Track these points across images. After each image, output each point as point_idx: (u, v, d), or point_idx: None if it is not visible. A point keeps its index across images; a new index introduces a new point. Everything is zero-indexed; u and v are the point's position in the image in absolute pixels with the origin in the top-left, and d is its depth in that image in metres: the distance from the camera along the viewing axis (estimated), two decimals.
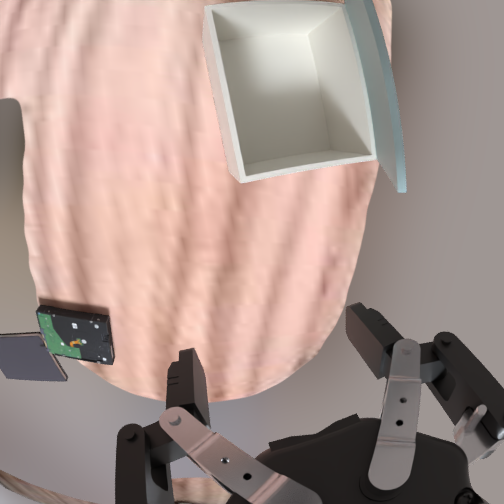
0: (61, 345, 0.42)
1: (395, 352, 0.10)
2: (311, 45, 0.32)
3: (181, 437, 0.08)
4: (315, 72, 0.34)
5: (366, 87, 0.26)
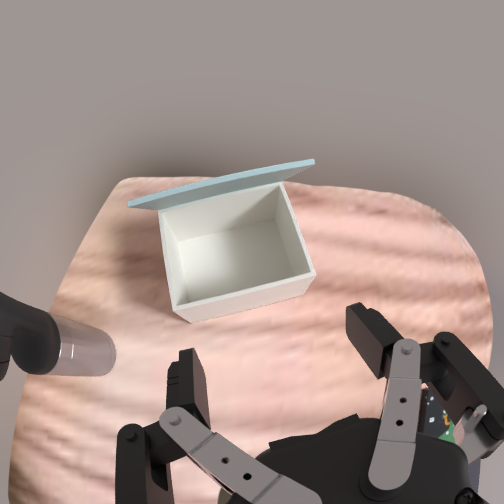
0: (448, 433, 0.36)
1: (395, 352, 0.10)
2: (188, 238, 0.52)
3: (181, 437, 0.08)
4: (212, 234, 0.53)
5: (228, 192, 0.43)
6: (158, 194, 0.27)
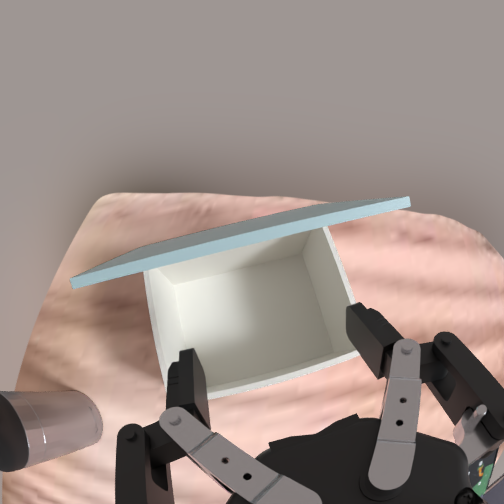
0: (480, 484, 0.22)
1: (395, 352, 0.10)
2: (187, 281, 0.39)
3: (181, 437, 0.08)
4: (218, 275, 0.40)
5: None
6: (124, 268, 0.13)
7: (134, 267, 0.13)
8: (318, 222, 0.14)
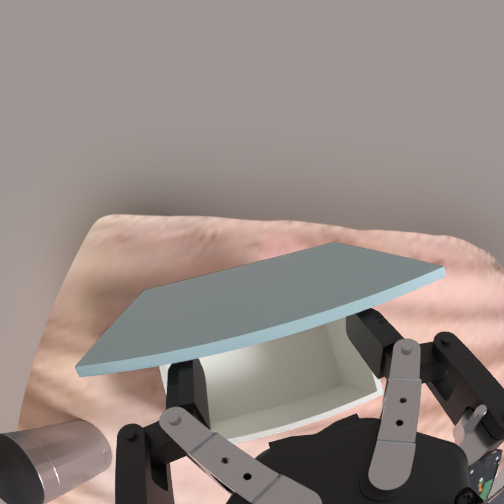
0: None
1: (395, 352, 0.10)
2: None
3: (181, 437, 0.08)
4: None
5: None
6: (135, 362, 0.11)
7: (146, 362, 0.11)
8: (351, 308, 0.12)
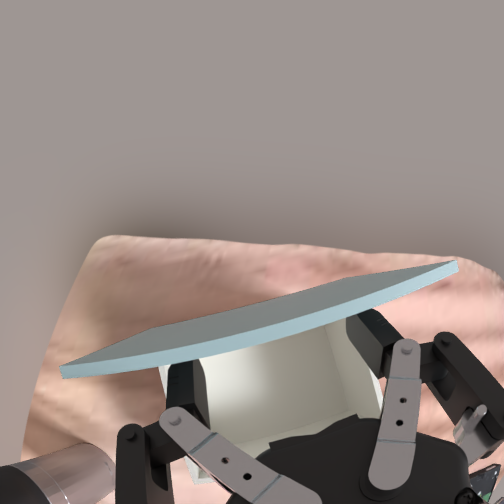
0: None
1: (395, 352, 0.10)
2: None
3: (181, 437, 0.08)
4: None
5: None
6: (121, 363, 0.10)
7: (134, 363, 0.10)
8: (360, 305, 0.11)
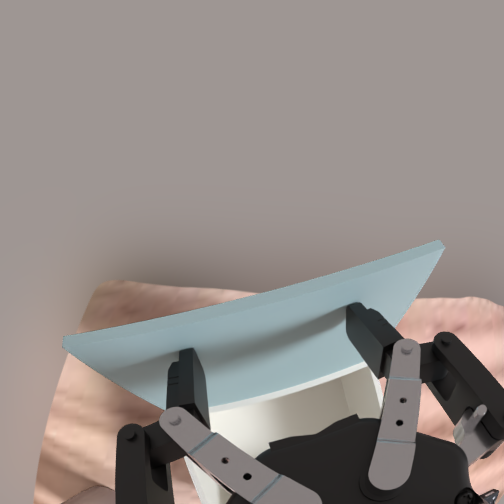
0: None
1: (395, 352, 0.10)
2: None
3: (181, 437, 0.08)
4: None
5: (289, 386, 0.23)
6: (121, 329, 0.11)
7: (132, 329, 0.11)
8: (346, 275, 0.12)
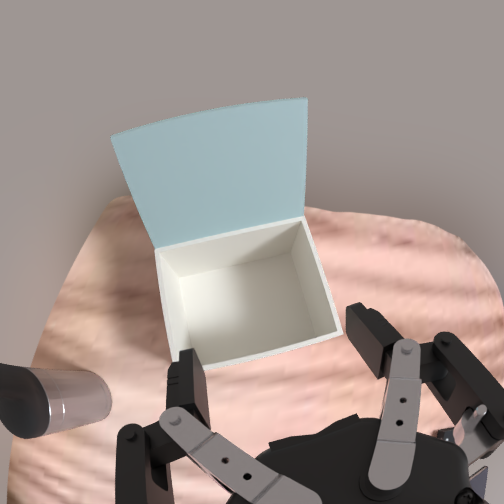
0: None
1: (395, 352, 0.10)
2: (191, 274, 0.45)
3: (181, 437, 0.08)
4: (218, 270, 0.46)
5: (240, 227, 0.36)
6: (143, 126, 0.24)
7: (148, 124, 0.24)
8: (246, 104, 0.25)
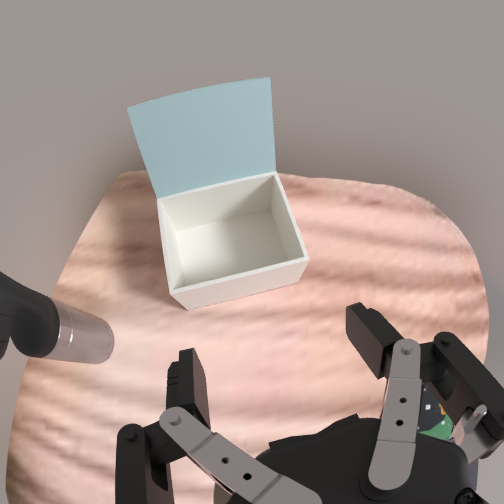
0: (444, 423, 0.37)
1: (395, 352, 0.10)
2: (186, 228, 0.54)
3: (181, 437, 0.08)
4: (209, 224, 0.54)
5: (224, 180, 0.44)
6: (151, 100, 0.32)
7: (155, 99, 0.32)
8: (224, 83, 0.33)
